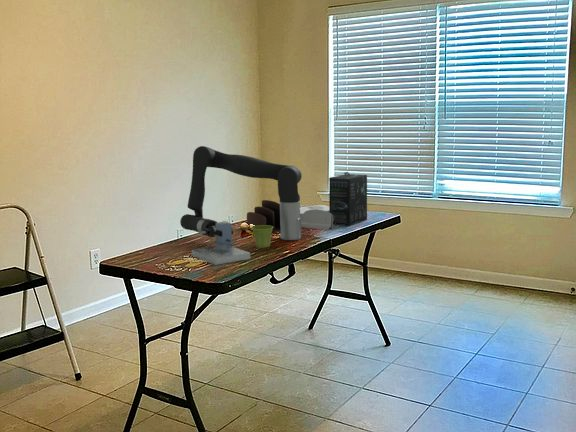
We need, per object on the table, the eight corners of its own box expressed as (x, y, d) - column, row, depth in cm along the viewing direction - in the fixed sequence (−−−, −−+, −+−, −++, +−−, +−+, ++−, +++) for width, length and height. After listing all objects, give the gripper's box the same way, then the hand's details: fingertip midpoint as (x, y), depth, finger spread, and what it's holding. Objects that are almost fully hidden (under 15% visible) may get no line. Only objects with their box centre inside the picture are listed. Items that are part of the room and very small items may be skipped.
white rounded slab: (270, 219, 347) (269, 210, 346) (323, 213, 361) (323, 204, 360) (284, 224, 330) (284, 215, 329) (339, 218, 344) (339, 209, 343)
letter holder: (263, 225, 327) (263, 198, 324) (283, 231, 310) (282, 203, 308) (246, 227, 322) (245, 200, 319) (265, 234, 305) (264, 205, 302)
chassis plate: (191, 255, 263) (191, 249, 262) (225, 250, 272) (225, 244, 271) (215, 265, 246) (214, 258, 246) (250, 258, 255) (250, 252, 255)
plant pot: (271, 249, 272) (271, 229, 270) (250, 248, 273) (249, 229, 272) (275, 244, 281) (275, 225, 279) (254, 244, 282) (254, 225, 281)
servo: (215, 247, 277) (214, 220, 275) (224, 246, 279) (223, 219, 278) (226, 250, 269) (225, 222, 267) (235, 249, 271) (234, 221, 270)
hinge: (299, 227, 320) (302, 207, 321) (303, 228, 324) (306, 209, 325) (328, 229, 311) (331, 209, 313) (332, 231, 315) (335, 211, 317)
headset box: (347, 217, 344) (347, 169, 339) (367, 219, 338) (368, 170, 333) (328, 224, 325) (327, 174, 320) (349, 226, 319) (349, 175, 314)
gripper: (193, 221, 281) (211, 226, 267) (221, 217, 289) (241, 222, 275) (194, 237, 282) (212, 244, 268) (222, 233, 290) (241, 239, 276)
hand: (226, 233), depth 272 cm, fingers closed on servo, 4 cm apart
